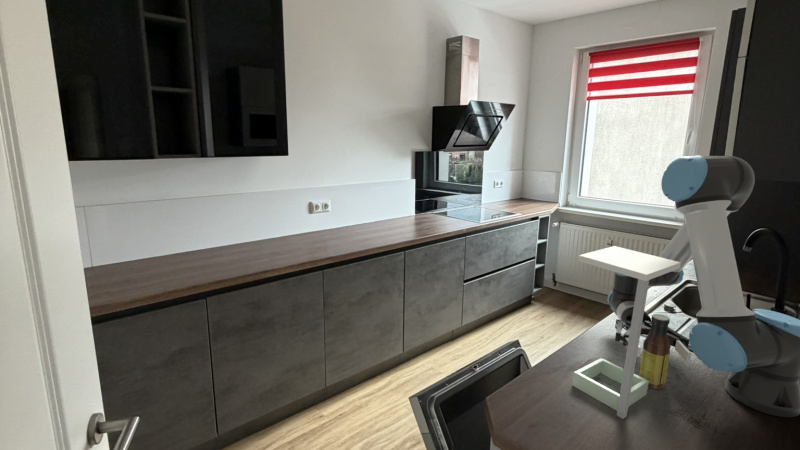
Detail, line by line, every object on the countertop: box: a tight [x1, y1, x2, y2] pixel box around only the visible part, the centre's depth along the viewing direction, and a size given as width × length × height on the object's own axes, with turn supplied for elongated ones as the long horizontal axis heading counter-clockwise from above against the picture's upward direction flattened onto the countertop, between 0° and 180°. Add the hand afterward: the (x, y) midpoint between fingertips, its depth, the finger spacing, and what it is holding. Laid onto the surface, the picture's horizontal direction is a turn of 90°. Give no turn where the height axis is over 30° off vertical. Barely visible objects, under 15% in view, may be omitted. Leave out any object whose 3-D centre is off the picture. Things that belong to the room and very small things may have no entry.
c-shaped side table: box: [577, 245, 681, 420], centre depth 106 cm, size 16×16×36 cm
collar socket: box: [571, 357, 649, 412], centre depth 110 cm, size 13×13×4 cm
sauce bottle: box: [638, 313, 672, 390], centre depth 111 cm, size 7×6×20 cm
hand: (663, 354), depth 107 cm, fingers open, 11 cm apart
